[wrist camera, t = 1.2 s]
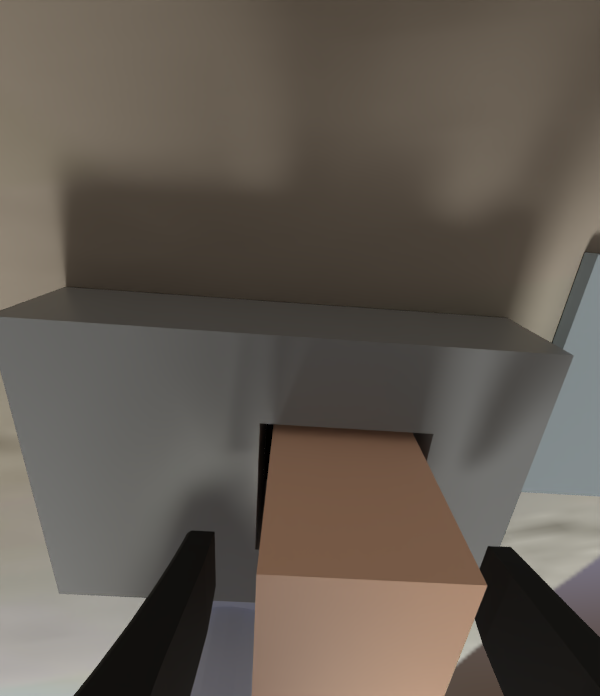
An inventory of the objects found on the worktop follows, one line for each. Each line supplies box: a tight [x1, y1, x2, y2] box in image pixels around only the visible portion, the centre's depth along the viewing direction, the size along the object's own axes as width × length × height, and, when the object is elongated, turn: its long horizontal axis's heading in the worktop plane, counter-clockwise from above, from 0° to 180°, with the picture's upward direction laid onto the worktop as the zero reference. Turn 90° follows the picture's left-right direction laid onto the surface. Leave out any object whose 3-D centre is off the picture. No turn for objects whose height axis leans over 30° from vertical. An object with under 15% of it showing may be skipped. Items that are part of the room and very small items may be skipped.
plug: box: [252, 424, 487, 696], centre depth 12 cm, size 4×4×8 cm
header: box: [0, 287, 574, 603], centre depth 14 cm, size 11×16×4 cm
